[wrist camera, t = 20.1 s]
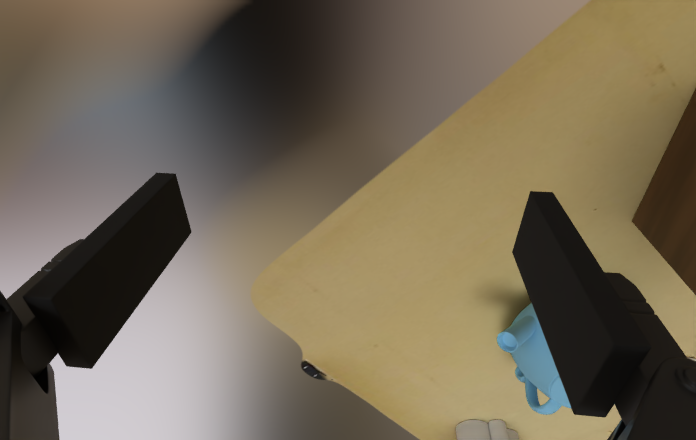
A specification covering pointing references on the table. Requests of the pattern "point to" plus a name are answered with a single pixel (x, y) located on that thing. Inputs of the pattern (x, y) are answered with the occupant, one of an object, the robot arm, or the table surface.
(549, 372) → the teapot
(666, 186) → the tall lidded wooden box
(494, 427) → the vase
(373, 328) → the table surface
